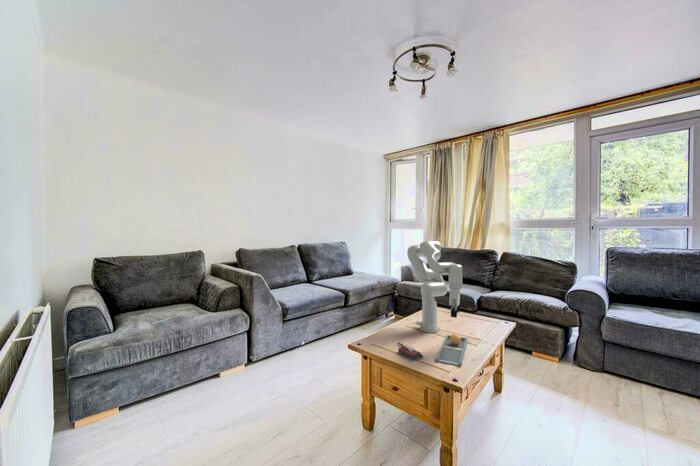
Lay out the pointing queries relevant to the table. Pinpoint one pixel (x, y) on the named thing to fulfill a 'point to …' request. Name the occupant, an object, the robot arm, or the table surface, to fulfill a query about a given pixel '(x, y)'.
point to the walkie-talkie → (409, 352)
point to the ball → (455, 339)
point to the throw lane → (452, 352)
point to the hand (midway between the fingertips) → (454, 314)
